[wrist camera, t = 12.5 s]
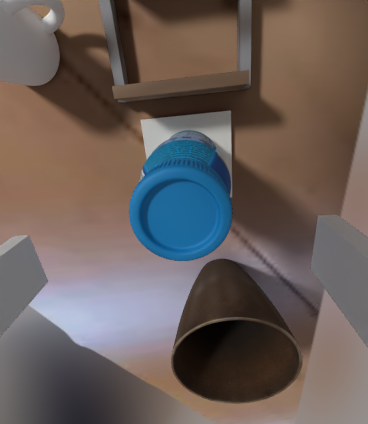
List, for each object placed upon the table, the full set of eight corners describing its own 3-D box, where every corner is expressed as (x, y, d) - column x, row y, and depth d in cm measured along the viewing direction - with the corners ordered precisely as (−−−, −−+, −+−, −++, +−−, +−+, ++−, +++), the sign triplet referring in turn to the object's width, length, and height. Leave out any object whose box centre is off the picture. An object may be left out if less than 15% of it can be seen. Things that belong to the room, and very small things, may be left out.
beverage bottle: (187, 114, 31) (173, 116, 12) (231, 158, 33) (277, 216, 14) (147, 161, 33) (87, 221, 15) (190, 199, 35) (184, 293, 17)
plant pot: (282, 266, 40) (332, 355, 25) (231, 319, 45) (248, 418, 30) (209, 224, 37) (218, 296, 23) (165, 285, 43) (148, 375, 28)
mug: (62, -24, 26) (-14, -101, 17) (99, 56, 29) (52, 28, 20) (-18, 29, 29) (-124, -13, 19) (24, 97, 31) (-50, 90, 22)
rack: (98, -29, 26) (66, -77, 19) (248, -54, 24) (266, -113, 18) (122, 103, 31) (103, 100, 25) (247, 89, 30) (261, 82, 23)
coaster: (141, 119, 32) (140, 119, 31) (230, 110, 31) (230, 110, 30) (154, 201, 36) (153, 203, 36) (231, 195, 35) (232, 197, 35)
